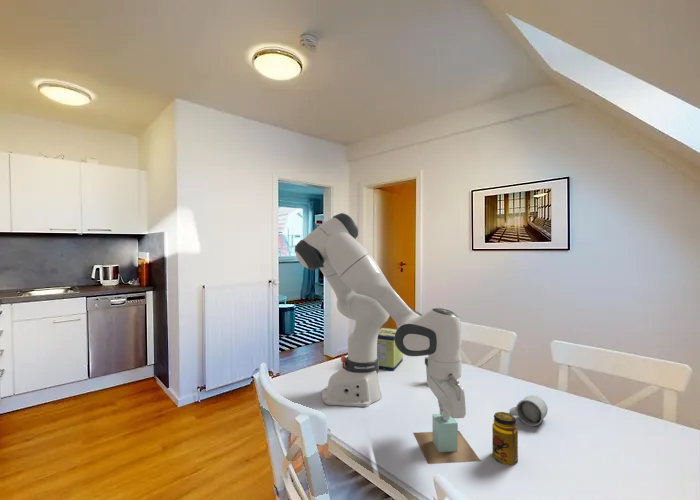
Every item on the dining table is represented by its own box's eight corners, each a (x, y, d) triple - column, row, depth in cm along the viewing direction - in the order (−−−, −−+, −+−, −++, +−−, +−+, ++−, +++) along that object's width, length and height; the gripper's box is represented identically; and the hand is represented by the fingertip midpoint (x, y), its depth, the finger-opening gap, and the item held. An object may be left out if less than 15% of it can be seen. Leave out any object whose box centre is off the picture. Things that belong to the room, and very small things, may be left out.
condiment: (486, 462, 86) (487, 416, 86) (496, 447, 93) (496, 404, 92) (517, 474, 81) (517, 426, 81) (525, 458, 88) (525, 413, 88)
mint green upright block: (457, 451, 89) (457, 423, 89) (438, 452, 89) (438, 424, 89) (450, 439, 94) (450, 413, 94) (432, 440, 94) (432, 414, 94)
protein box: (403, 360, 163) (403, 329, 163) (394, 371, 149) (394, 337, 149) (382, 357, 167) (382, 327, 167) (372, 367, 153) (372, 334, 153)
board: (427, 467, 84) (427, 463, 84) (413, 436, 98) (413, 432, 98) (480, 464, 85) (480, 460, 85) (459, 434, 99) (459, 430, 99)
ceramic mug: (549, 419, 107) (548, 396, 107) (542, 429, 101) (542, 404, 101) (514, 409, 114) (513, 387, 114) (506, 418, 108) (505, 394, 108)
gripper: (472, 383, 81) (472, 438, 81) (442, 355, 102) (442, 400, 102) (447, 383, 81) (447, 440, 81) (422, 356, 101) (422, 400, 101)
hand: (444, 417), depth 91 cm, fingers closed
